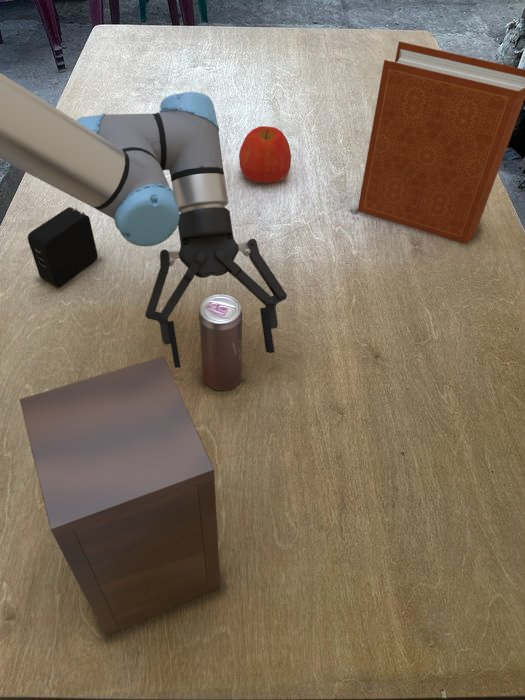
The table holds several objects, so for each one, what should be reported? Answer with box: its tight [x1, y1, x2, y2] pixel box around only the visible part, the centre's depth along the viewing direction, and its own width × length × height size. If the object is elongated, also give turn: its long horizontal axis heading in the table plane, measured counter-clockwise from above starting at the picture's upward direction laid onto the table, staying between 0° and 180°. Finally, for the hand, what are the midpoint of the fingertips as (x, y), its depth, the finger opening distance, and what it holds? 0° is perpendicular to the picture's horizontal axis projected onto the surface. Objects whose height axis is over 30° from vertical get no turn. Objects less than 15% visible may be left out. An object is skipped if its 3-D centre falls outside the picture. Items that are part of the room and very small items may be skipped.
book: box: [357, 40, 525, 244], centre depth 113 cm, size 23×8×30 cm, turn 65°
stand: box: [19, 355, 221, 637], centre depth 66 cm, size 14×14×28 cm
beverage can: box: [198, 293, 243, 391], centre depth 90 cm, size 6×6×15 cm
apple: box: [238, 125, 292, 184], centre depth 128 cm, size 11×11×11 cm
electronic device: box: [27, 206, 99, 288], centre depth 107 cm, size 4×10×10 cm, turn 145°
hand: (224, 359), depth 90 cm, fingers open, 13 cm apart
